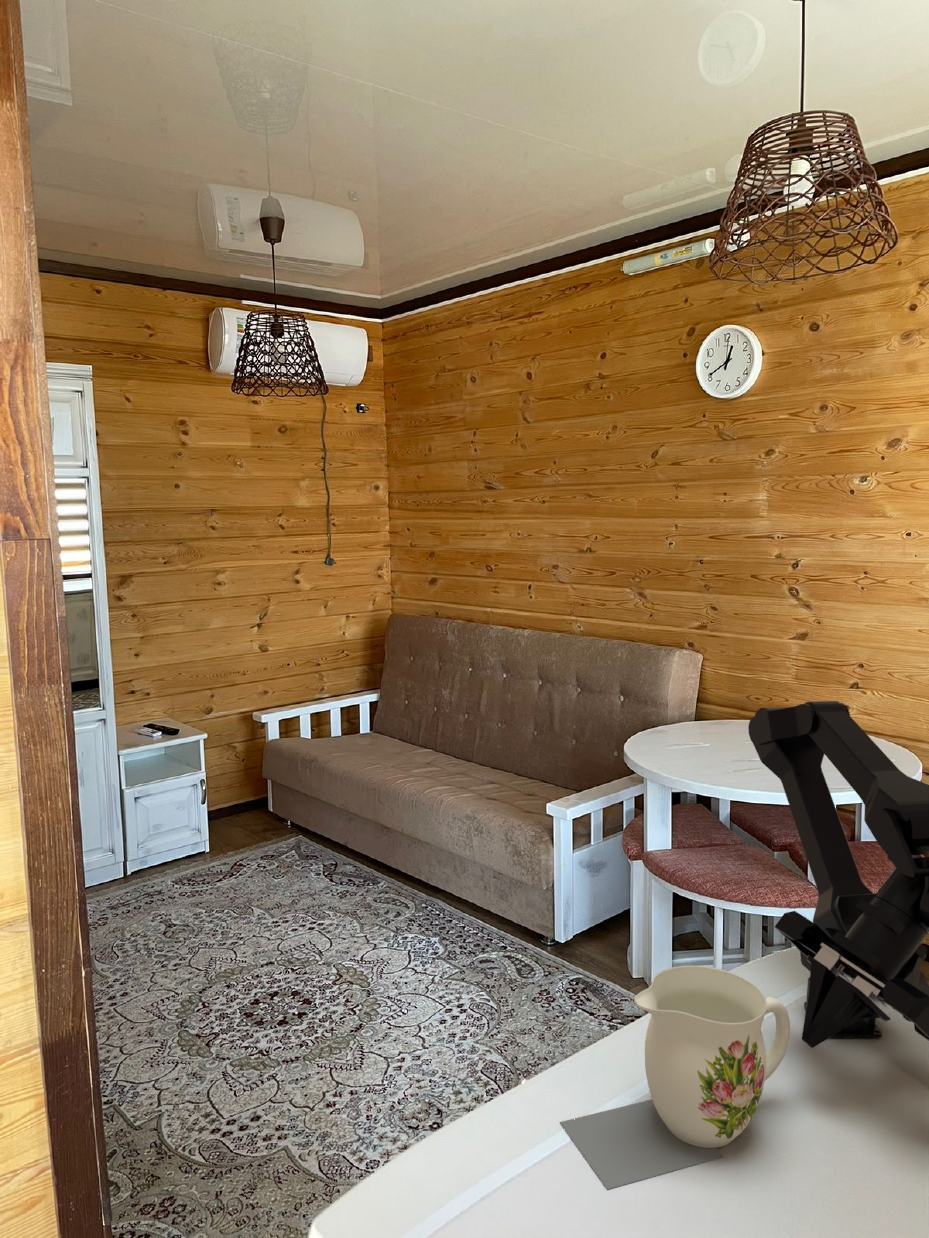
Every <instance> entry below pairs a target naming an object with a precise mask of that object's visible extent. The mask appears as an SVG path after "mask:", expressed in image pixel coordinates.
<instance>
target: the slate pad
mask: <svg viewBox="0 0 929 1238" xmlns="http://www.w3.org/2000/svg"><path fill="white" fill-rule="evenodd" d="M574 1119H575V1120H574ZM559 1125H560V1126H561V1127H562V1128H563V1130H564V1129H565V1130H564V1131H565V1133H566V1135H567V1136H568V1137H569V1138H570V1140H571V1141H572V1142H573V1144H574V1146H575V1147H576V1149H577V1150H578V1151H579V1153H580V1154H581V1156H582V1157H583V1158H584V1160H585V1161H586V1162H587V1164H588V1165H589V1167H590V1168H591V1170H592V1171H593V1173H594V1174H595V1176H597V1178H598V1180H599V1181H600V1183H601V1184H602V1185H603V1187H604V1188H605V1190H606V1191H610V1190H614V1189H618V1188H621V1187H625V1186H628V1185H630V1184H634V1183H638V1182H641V1181H644V1180H645V1181H646V1180H649V1179H653V1178H656V1177H659V1176H662V1175H663V1176H664V1175H667V1174H670V1173H673V1172H677V1171H681V1170H684V1169H688V1168H691V1167H695V1166H699V1165H701V1164H705V1163H709V1162H712V1161H716V1160H719V1159H722V1158H723V1159H724V1158H725V1155H724V1154H723V1153H722V1151H720V1149H718V1147H717V1148H704V1147H698V1146H694V1145H691V1144H688V1143H686V1142H684V1141H682V1140H680V1139H679V1138H677V1137H676V1136H675V1135H673V1134H672V1133H671V1132H670V1131H669V1129H668V1128H667V1126H666V1124H665V1123H664V1122H663V1120H662V1119H661V1117H660V1116H659V1114H658V1112H657V1110H656V1107H655V1105H654V1103H653V1100H652V1098H651V1099H648V1100H644V1101H640V1102H636V1103H632V1104H628V1105H624V1106H623V1105H622V1106H619V1107H615V1108H612V1109H607V1110H603V1111H600V1112H596V1113H591V1114H587V1115H583V1116H579V1117H574V1118H571V1119H567V1120H562V1121H560V1122H559Z"/></svg>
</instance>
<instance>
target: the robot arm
mask: <svg viewBox="0 0 929 1238" xmlns="http://www.w3.org/2000/svg"><path fill="white" fill-rule="evenodd" d="M747 729H748V735H749V738H750V741H751V742H752V744H753V747H754V749H755V751H756V753H757V755H758V757H759V760H760V762H761V763H762V764H763V765H764V766H765V767H766V768H767V769H768V770H769V771H771V772H772V774H774V775H775V776H776V777H777V778H778V779H779V780H780V782H781V784H782V788H783V790H784V794H785V796H786V797H785V798H786V799H787V802H788V805H789V808H790V811H791V812H790V813H791V815H792V817H793V820H794V824H795V828H796V830H797V833H798V835H799V838H800V841H801V844H802V848H803V850H804V853H805V856H806V859H807V862H808V866H809V869H810V872H811V875H812V877H813V880H814V883H815V886H816V890H817V893H818V899H817V902H816V905H815V906H816V907H815V910H814V914H813V917H812V920H810V919H808V918H807V917H806V916H804V915H802V914H800V913H799V912H797V911H796V910H792V911H788V912H784V913H783V914H782V916H781V917H780V919H779V920H778V921H777V923H776V924H775V925H774V929H776V930H777V931H778V932H779V933H780V934H781V935H782V936H783V937H784V938H785V939H786V940H787V941H789V942H790V944H791V945H793V946H794V948H796V949H797V950H798V951H799V952H800V953H799V954H800V955H799V956H800V963H801V965H802V966H803V967H804V968H805V969H806V970H808V971H809V972H810V974H809V976H808V978H807V985H806V986H807V989H806V999H805V1002H804V1003H803V1007H804V1009H805V1014H804V1015H805V1016H804V1022H803V1027H802V1033H801V1040H802V1042H804V1043H805V1044H806V1045H807V1046H808V1047H809V1048H812V1049H813V1048H816V1047H817V1046H819V1045H820V1044H822V1043H823V1042H826V1041H827V1040H828V1039H831V1038H856V1039H857V1038H858V1039H859V1038H860V1039H861V1038H867V1039H868V1038H869V1039H870V1038H872V1039H873V1038H874V1039H875V1038H877V1039H880V1038H882V1037H883V1031H882V1030H881V1029H880V1028H879V1026H878V1025H877V1024H876V1021H877V1020H876V1019H881V1020H882V1021H884V1022H888V1021H891V1018H890V1016H889V1015H888V1014H889V1013H890V1012H891V1010H892V1009H893V1010H895V1011H896V1012H897V1013H899V1014H901V1015H902V1018H903V1019H904V1020H906V1021H908V1022H911V1023H913V1027H914V1028H913V1029H914V1031H915V1032H916V1033H917V1034H918V1035H920V1036H922V1038H924V1039H926V1040H927V1041H929V982H928V980H927V978H926V976H925V974H924V973H923V971H922V970H921V967H922V963H923V962H924V960H925V959H926V958H927V952H928V951H929V950H928V949H927V947H926V946H924V945H923V942H924V941H925V939H926V938H927V936H928V935H929V856H925V855H929V783H926V782H923V781H921V780H917V779H915V778H913V777H911V776H908V775H906V774H905V773H904V772H903V771H901V770H900V769H899V768H898V767H897V766H896V765H895V763H894V762H893V761H892V760H891V759H890V758H889V757H888V756H887V755H886V754H885V753H884V751H883V750H882V749H881V748H880V747H879V746H878V745H877V744H876V742H874V740H873V739H872V738H871V737H870V736H869V735H868V734H867V733H866V732H865V731H864V729H863V728H862V727H861V726H860V725H859V724H858V723H857V722H856V721H855V720H854V719H853V718H852V717H851V714H850V710H849V708H848V706H847V705H846V704H845V703H843V702H840V701H837V700H814V701H812V700H811V701H805V702H804V703H800V704H797V705H795V706H777V707H776V706H775V707H760V708H759V709H757V710H756V712H755V713H754V716H753V717H751V718H750V720H749V723H748V728H747ZM824 756H825V757H826V758H827V759H828V760H829V761H830V763H831V764H832V765H833V766H834V767H835V768H836V770H837V771H838V772H839V773H840V774H841V775H840V776H842V777H843V778H844V780H845V781H846V782H847V783H848V784H849V786H851V788H852V789H853V791H854V792H855V793H856V794H857V796H858V797H859V798H860V800H861V801H862V802H863V805H864V819H863V820H864V822H865V824H866V826H867V828H868V830H869V831H870V833H871V835H872V836H873V838H874V839H875V840H876V842H877V844H878V846H879V847H880V848H881V849H882V851H884V852H885V854H886V859H887V860H888V861H889V862H891V864H893V865H894V867H895V868H894V869H893V870H892V872H891V873H890V875H889V876H888V877H887V878H886V880H885V882H884V883H882V885H881V886H880V888H879V889H878V891H877V892H874V891H872V890H871V889H870V888H868V887H867V885H865V883H864V882H863V880H862V877H861V874H860V871H859V868H858V866H857V863H856V860H855V857H854V855H853V853H852V849H851V847H850V844H849V841H848V838H847V835H846V833H845V832H846V831H844V827H843V825H842V821H841V818H840V816H839V814H838V811H837V808H836V806H835V802H834V800H833V797H832V794H831V792H830V788H829V786H828V782H827V780H826V777H825V775H824V774H825V773H824V772H823V768H822V764H823V760H824ZM922 855H924V856H922Z"/></svg>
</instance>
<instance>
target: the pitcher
mask: <svg viewBox="0 0 929 1238" xmlns="http://www.w3.org/2000/svg"><path fill="white" fill-rule="evenodd" d="M633 1002H634V1004H635V1005H636V1006H637V1007H638V1008H640V1009H641V1010H642V1011H646V1012H647V1013H649V1014H650V1015H651V1017H650V1019H649V1022H648V1025H647V1029H646V1033H645V1041H644V1067H645V1074H646V1081H647V1085H648V1089H649V1093H650V1096H651V1099H652V1100H653V1103H654V1105H655V1107H656V1110H657V1112H658V1114H659V1116H660V1117H661V1119H662V1120H663V1122H664V1123H665V1124H666V1126H667V1128H668V1129H669V1131H670V1132H671V1133H672V1134H673V1135H675V1136H676V1137H677V1138H679V1139H680V1140H682V1141H684V1142H686V1143H688V1144H691V1145H694V1146H698V1147H704V1148H717V1149H718V1148H721V1147H724V1146H727V1145H729V1144H730V1143H732V1142H733V1140H735V1139H736V1138H737V1137H738V1136H739V1135H741V1134H742V1133H743V1131H745V1129H746V1128H747V1127H748V1125H749V1124H750V1122H751V1120H752V1119H753V1116H754V1115H755V1112H756V1110H757V1109H758V1106H759V1103H760V1101H761V1099H762V1098H761V1097H762V1094H763V1091H764V1085H765V1082H766V1081H767V1080H768V1079H769V1078H770V1077H772V1075H773V1074H774V1073H775V1071H776V1070H777V1069H778V1068H779V1066H780V1065H781V1063H782V1061H783V1059H784V1058H785V1056H786V1053H787V1051H788V1046H789V1042H790V1035H791V1020H790V1016H789V1012H788V1010H787V1007H786V1006H785V1005H784V1003H783V1002H781V1001H780V1000H778V999H777V998H774V997H769V996H768V997H766V996H765V994H764V992H762V990H761V989H760V988H759V987H758V986H757V985H755V983H753V982H751V981H750V980H748V979H746V978H744V977H743V976H740V975H739V974H737V973H733V972H731V971H728V970H724V969H721V968H717V967H712V966H704V965H679V966H673V967H670V968H667V969H663V970H661V971H659V972H657V973H656V975H654V977H652V981H651V985H650V986H649V987H648V988H645V989H643V990H642V991H639V993H637V994H636V995H635V996H634V998H633ZM769 1013H773V1016H775V1034H774V1040H773V1042H772V1045H771V1047H770V1049H769V1051H768V1052H767V1050H766V1044H765V1040H764V1036H763V1033H762V1025H763V1022H764V1018H765V1016H766V1015H768V1014H769Z"/></svg>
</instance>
